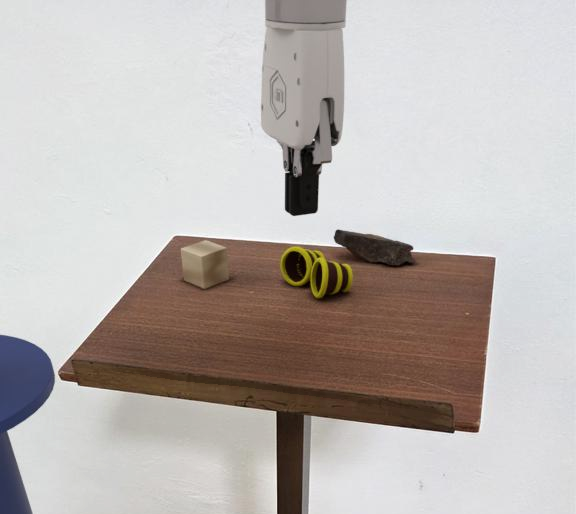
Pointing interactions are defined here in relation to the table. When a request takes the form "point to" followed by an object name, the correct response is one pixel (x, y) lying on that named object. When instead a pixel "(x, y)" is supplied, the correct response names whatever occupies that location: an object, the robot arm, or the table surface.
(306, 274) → the opera glasses
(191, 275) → the pale wood block
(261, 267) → the table surface
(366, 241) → the rock
